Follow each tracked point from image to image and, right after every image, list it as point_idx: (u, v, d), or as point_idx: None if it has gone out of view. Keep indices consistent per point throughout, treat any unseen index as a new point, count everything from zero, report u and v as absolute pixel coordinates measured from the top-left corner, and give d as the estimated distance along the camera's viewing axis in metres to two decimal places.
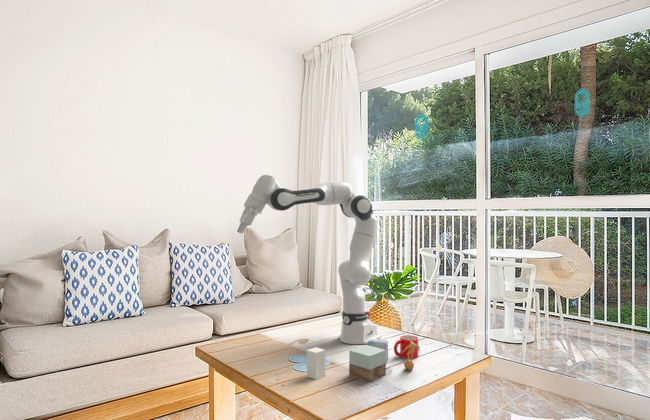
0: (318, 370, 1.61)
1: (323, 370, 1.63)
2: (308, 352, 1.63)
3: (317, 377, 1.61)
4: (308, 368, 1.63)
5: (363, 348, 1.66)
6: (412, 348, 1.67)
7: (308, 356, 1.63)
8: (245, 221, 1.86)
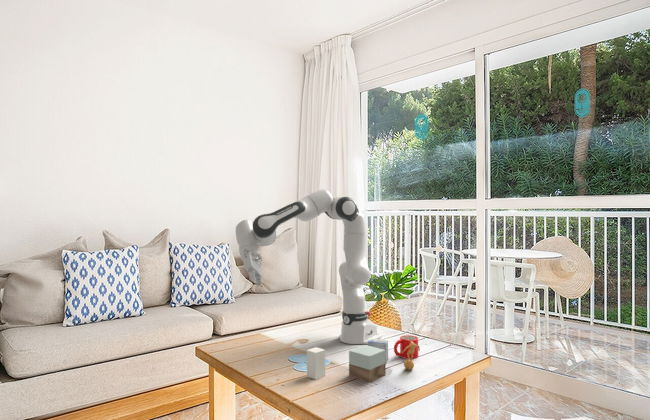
0: (318, 370, 1.61)
1: (323, 370, 1.63)
2: (308, 352, 1.63)
3: (317, 377, 1.61)
4: (308, 368, 1.63)
5: (362, 348, 1.66)
6: (412, 348, 1.67)
7: (308, 356, 1.63)
8: (245, 266, 1.78)
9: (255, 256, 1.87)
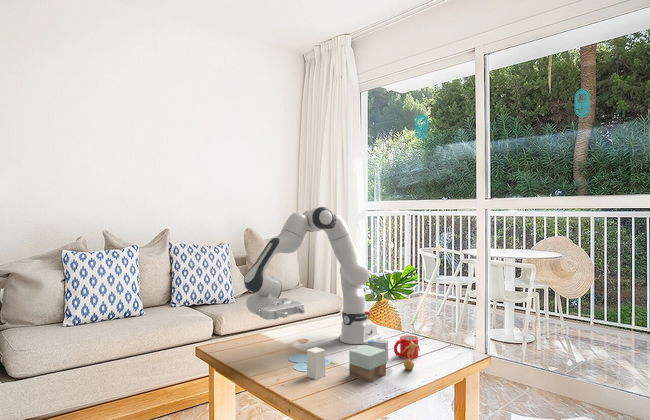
0: (318, 370, 1.61)
1: (323, 370, 1.63)
2: (308, 352, 1.63)
3: (317, 377, 1.61)
4: (308, 368, 1.63)
5: (363, 348, 1.66)
6: (412, 348, 1.67)
7: (308, 356, 1.63)
8: (267, 318, 1.69)
9: (273, 304, 1.79)
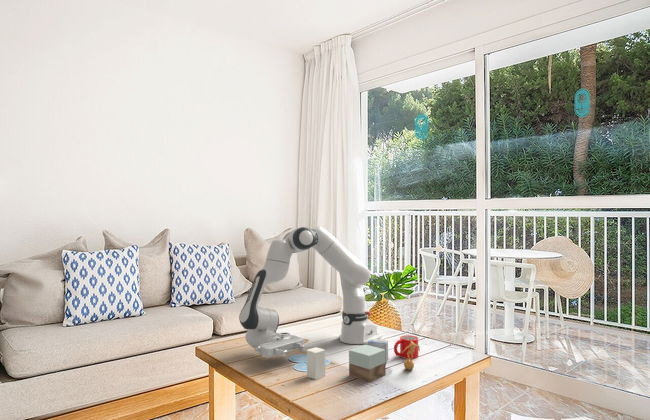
0: (318, 370, 1.61)
1: (323, 370, 1.63)
2: (308, 352, 1.63)
3: (317, 377, 1.61)
4: (308, 368, 1.63)
5: (362, 347, 1.67)
6: (412, 348, 1.67)
7: (308, 356, 1.63)
8: (266, 355, 1.69)
9: (272, 339, 1.79)
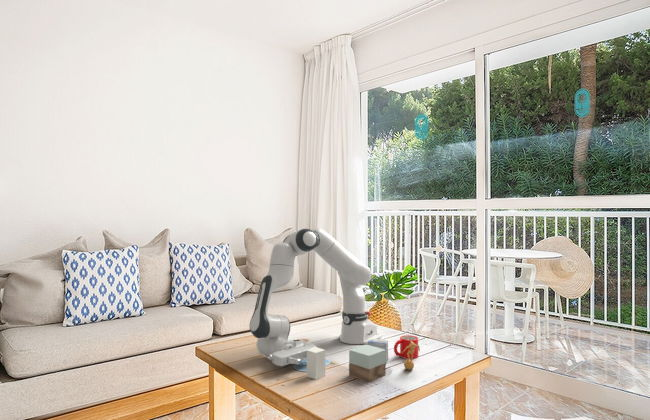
0: (318, 370, 1.61)
1: (323, 370, 1.63)
2: (308, 352, 1.63)
3: (317, 377, 1.61)
4: (308, 368, 1.63)
5: (363, 347, 1.67)
6: (412, 348, 1.67)
7: (308, 356, 1.63)
8: (279, 364, 1.64)
9: (285, 347, 1.74)
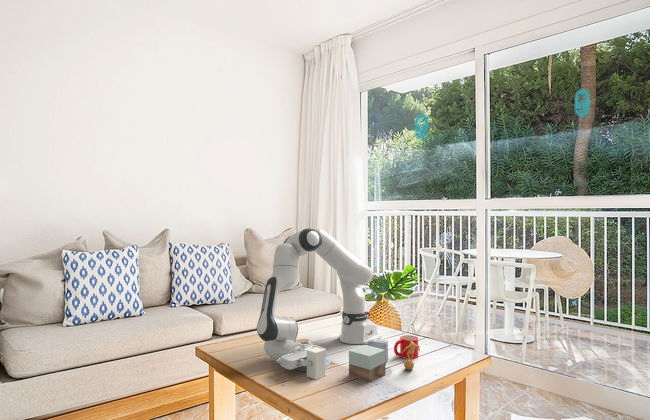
0: (318, 370, 1.61)
1: (323, 370, 1.63)
2: (308, 352, 1.63)
3: (317, 377, 1.61)
4: (308, 368, 1.63)
5: (362, 348, 1.66)
6: (412, 348, 1.67)
7: (308, 356, 1.63)
8: (288, 368, 1.60)
9: (293, 350, 1.70)
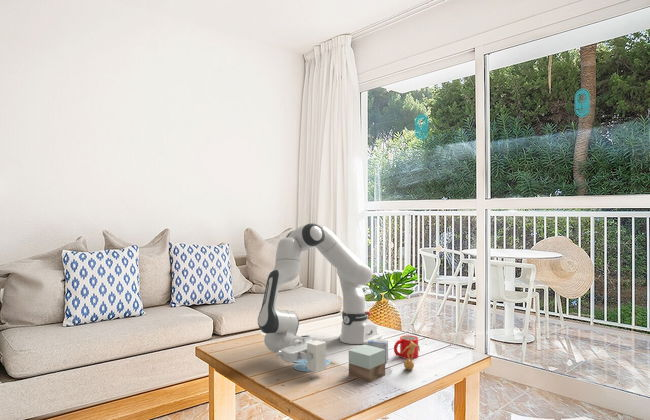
0: (318, 363, 1.61)
1: (323, 363, 1.63)
2: (308, 345, 1.63)
3: (317, 370, 1.61)
4: (308, 361, 1.63)
5: (362, 347, 1.67)
6: (412, 348, 1.67)
7: (308, 349, 1.63)
8: (289, 360, 1.60)
9: (294, 343, 1.70)
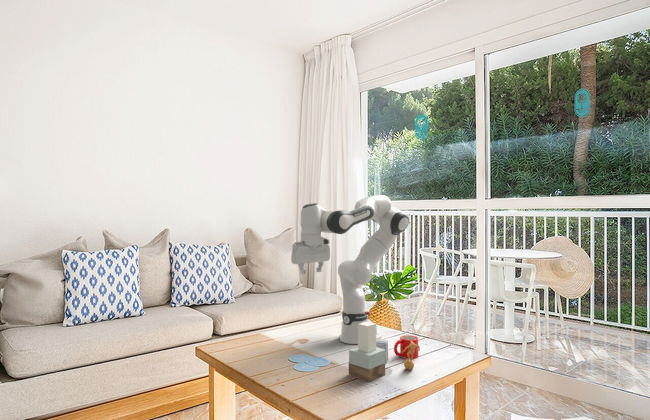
0: (370, 343, 1.62)
1: (374, 344, 1.64)
2: (360, 326, 1.64)
3: (369, 350, 1.61)
4: (359, 342, 1.64)
5: None
6: (412, 348, 1.67)
7: (360, 330, 1.64)
8: (292, 262, 1.77)
9: (311, 246, 1.80)
